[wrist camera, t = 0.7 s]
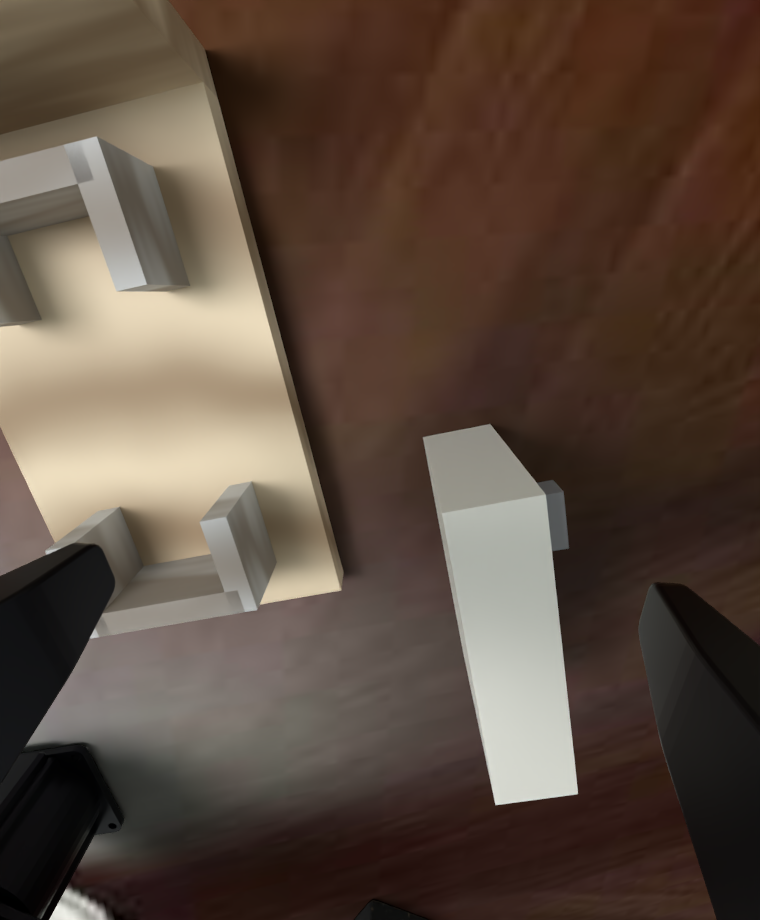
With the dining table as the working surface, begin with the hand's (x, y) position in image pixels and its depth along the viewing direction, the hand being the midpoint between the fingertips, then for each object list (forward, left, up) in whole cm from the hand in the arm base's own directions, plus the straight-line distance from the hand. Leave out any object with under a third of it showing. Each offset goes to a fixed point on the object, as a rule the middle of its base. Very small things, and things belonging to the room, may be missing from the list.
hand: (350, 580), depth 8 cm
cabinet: (+2, +9, -14) cm, 17 cm away
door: (-8, -3, -14) cm, 17 cm away
